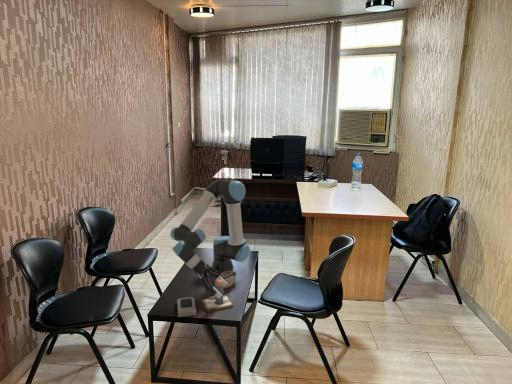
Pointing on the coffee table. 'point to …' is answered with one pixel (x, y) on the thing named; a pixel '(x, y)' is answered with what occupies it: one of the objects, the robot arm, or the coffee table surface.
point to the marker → (220, 288)
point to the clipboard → (212, 306)
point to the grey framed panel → (186, 307)
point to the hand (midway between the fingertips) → (223, 291)
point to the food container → (229, 280)
